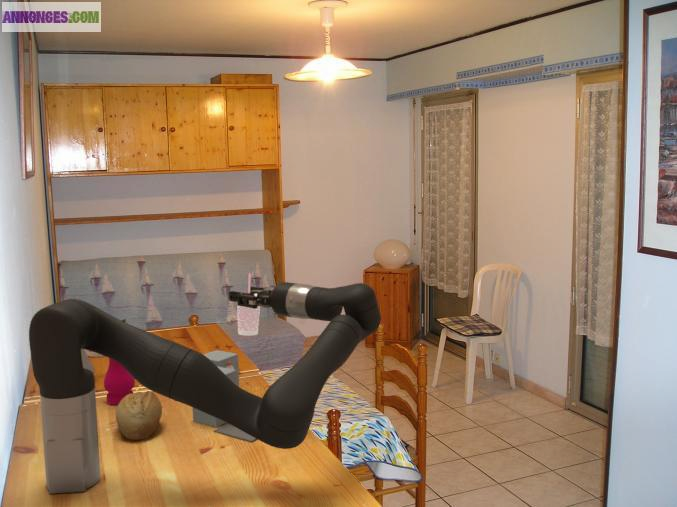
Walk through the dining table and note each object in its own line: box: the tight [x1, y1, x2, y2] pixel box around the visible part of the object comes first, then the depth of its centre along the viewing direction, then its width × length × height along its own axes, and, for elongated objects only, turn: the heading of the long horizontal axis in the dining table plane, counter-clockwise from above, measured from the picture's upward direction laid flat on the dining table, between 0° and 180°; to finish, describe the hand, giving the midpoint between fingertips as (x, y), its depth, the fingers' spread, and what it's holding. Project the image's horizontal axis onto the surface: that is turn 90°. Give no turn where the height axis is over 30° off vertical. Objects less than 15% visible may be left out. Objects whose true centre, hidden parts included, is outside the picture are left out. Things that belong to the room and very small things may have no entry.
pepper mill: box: [103, 358, 136, 406], centre depth 167 cm, size 7×7×20 cm
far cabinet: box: [202, 349, 240, 387], centre depth 168 cm, size 8×7×11 cm
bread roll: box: [115, 390, 163, 441], centre depth 150 cm, size 10×15×8 cm, turn 18°
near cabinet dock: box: [192, 366, 258, 443], centre depth 152 cm, size 19×11×11 cm, turn 56°
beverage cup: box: [236, 272, 261, 337], centre depth 160 cm, size 6×6×14 cm
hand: (240, 293), depth 161 cm, fingers closed on beverage cup, 6 cm apart
